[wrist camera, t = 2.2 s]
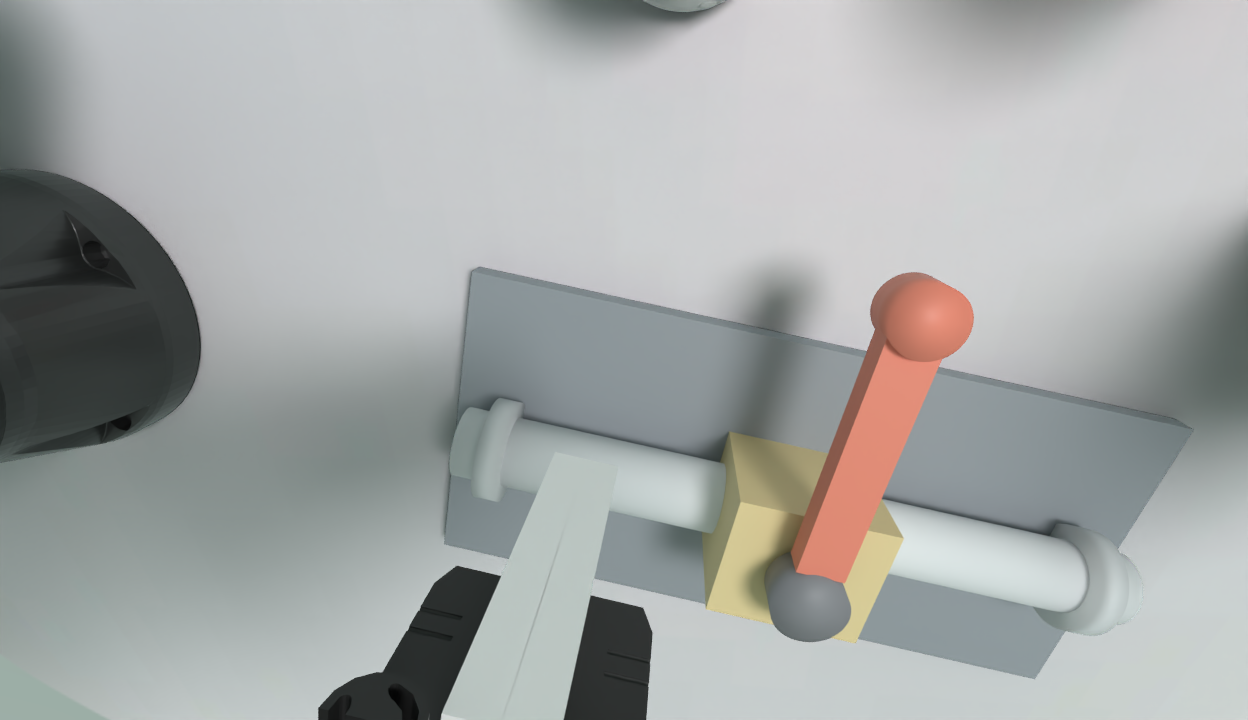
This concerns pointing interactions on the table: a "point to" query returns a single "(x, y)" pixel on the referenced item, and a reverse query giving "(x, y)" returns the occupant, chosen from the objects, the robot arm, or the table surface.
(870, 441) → the lever
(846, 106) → the table surface
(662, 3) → the mug
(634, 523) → the grey base plate
